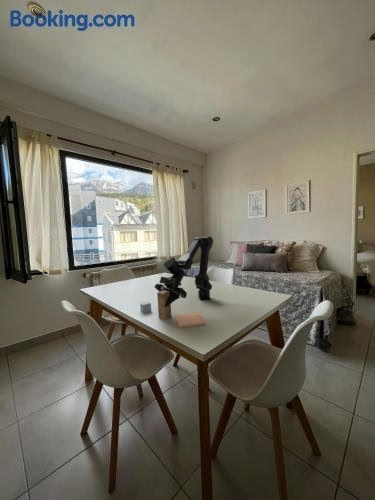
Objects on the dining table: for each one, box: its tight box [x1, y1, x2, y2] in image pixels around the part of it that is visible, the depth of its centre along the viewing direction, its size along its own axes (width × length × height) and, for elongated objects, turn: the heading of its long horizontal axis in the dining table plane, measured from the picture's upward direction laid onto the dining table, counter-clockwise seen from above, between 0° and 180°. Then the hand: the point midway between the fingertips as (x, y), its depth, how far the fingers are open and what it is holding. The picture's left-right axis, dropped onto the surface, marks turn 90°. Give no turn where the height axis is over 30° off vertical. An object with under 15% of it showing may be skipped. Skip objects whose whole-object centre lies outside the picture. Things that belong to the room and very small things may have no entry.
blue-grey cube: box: [139, 300, 152, 314], centre depth 112 cm, size 4×4×4 cm
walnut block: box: [156, 290, 172, 321], centre depth 102 cm, size 4×4×13 cm
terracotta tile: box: [174, 312, 206, 329], centre depth 98 cm, size 12×12×1 cm
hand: (162, 305), depth 101 cm, fingers closed on walnut block, 4 cm apart
